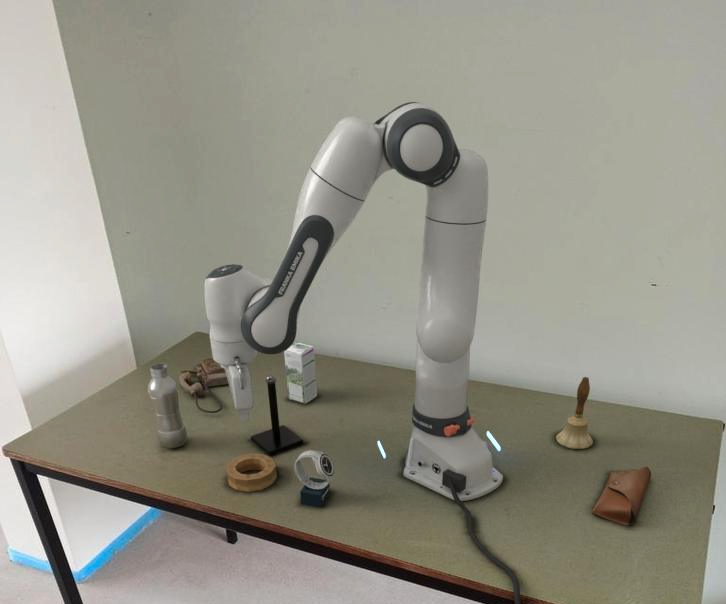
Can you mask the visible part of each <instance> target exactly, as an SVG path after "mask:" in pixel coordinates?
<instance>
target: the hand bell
mask: <svg viewBox="0 0 726 604" xmlns="http://www.w3.org/2000/svg"><path fill="white" fill-rule="evenodd" d="M590 390H591V385H590V378H589V377H587V376H583V377H582V379H581V381H580V383H579V384H578V386H577V391H576V399H577V401H576V402H577V404H576V408H575V412H574V415H572V416H570V417H568V418H567V421H566V424H565V427H564V428H563V430H562V431H559V432H558V433H557V435H556V437H555V440H556V442H557V443H558V444H559V445H560V446H563V447H565V448H567V449H572V450H583V449H588V448H590V447H591V446H592V445H593V444H594V441H593V438H592V436H591V435H590V434H589V429H588V423H589V422H588V420H587V418H585V417H584V416H583V415H584V409H585V405H586V404H585V403H586V402H587V400H588V398H589V395H590Z"/></svg>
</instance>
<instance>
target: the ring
mask: <svg viewBox="0 0 726 604" xmlns="http://www.w3.org/2000/svg"><path fill="white" fill-rule="evenodd" d="M252 470H253V471H259V472H257V473H250V474H246V473H245V472H247V471H252ZM225 471H226V478H227V483H228V486H229V487H231V488H233V490H236V491H241V492H246V493H247V492H248V493H250V492H251V493H252V492H256V491H262V490H264V489H266V488H268V487H270V486H272V485H274V482H275V481H276V479H277V477H278V476H277V466H276V463H275V460H274V458H272V457H271V456H269V455H268V454H262V453H246V454H241V455H239V456H237V457H235V458H232V459H231V460H229V462H228V464H226V466H225Z"/></svg>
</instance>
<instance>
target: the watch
mask: <svg viewBox="0 0 726 604" xmlns="http://www.w3.org/2000/svg"><path fill="white" fill-rule="evenodd" d="M303 458H311V459H312V462H313V463H314V465H315V469H316V472H317V474H318V475H319V476H320V477H321V478H317V477H311V476H310V477H309V475H308V474H307V473H306V471H305V469H304V467H303V464H301V459H303ZM293 471H294V473H295V475H296V477H297V478H298V481H299V482H300V484H302V485H303V487H302V488H301V490H300V491H299V494H300V505H303V506H309V507H316V508H320V509H321V508H322V507H323V505H324V503H325V502H326V501H327V498H328V497H329V495H330V493H331V484H330V482H331V481H332V480H333V477H334V475H335V464H334V461H333V459H332V457H330V455H329V454H327V453H323V452H322V451H320V450H319V451H318V450H314V449H308V450H305V451H303V452H302V453H300V454H299V456H298V457H297V459H295V461H294V469H293Z"/></svg>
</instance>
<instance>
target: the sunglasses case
mask: <svg viewBox="0 0 726 604" xmlns="http://www.w3.org/2000/svg"><path fill="white" fill-rule="evenodd" d="M651 478H652V471H651V469H650V467H648V466H643V467H640V468H636V469H635V468H634V469H624V470H617V471H610V472H609V475H608V479H607V481H606V484H605V486H604V488H603V491H602V492H601V494H600V496H599V498H598V500H597V502H596V503H595V504H594V506H593V508H592V510H591V513H593V514H594V515H595V516H597V517H599V518H602V519H604V520H607V521H610V522H612V523H616V524H619V525H621V526H622V525H623V526H627V527H628V526H632V525H633V524H636V521H637V518H638V516H639V513H640V511H641V507H642V505H643V502H644V499H645V496H646V493H647V491H648V488H649V484H650V482H651Z"/></svg>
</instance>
